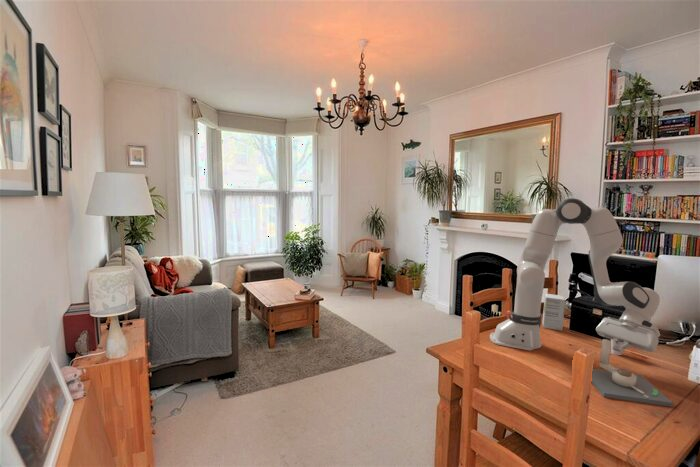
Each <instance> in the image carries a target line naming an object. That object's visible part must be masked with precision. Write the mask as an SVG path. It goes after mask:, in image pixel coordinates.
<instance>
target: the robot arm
mask: <svg viewBox="0 0 700 467" xmlns="http://www.w3.org/2000/svg"><path fill="white" fill-rule="evenodd" d="M563 224H568V225H575V224H581V225H582V226H583V227H584V229H585V230H586V233H587V236H588V239H589V244H590V246H589V247H590V249H589V250H588V262H589V266H590V271H591V276H592V281H593V295H594V298H595V300H596V301H597V302H598V303H599V305H601V306H603V307H615V306H618V307H619V306H620V307H621V306H622V307H624V308H625V310H624V311H623V312H622V314H621V316H620V317H619V318H616V317H611V316H606V317H603V318H602V320H601V322H599V324H598V325H597V326H596V328H595V332H596V333H597V335H599V336H600V337H603V338H605V339H608V340H611V339H612V340H613V342H614V345H613V347H612V349H613V350H615V351H618V352H621V353H622V354H623V352H624V351H625V350H627V349H628V348H630V346H631V347H634V348H638V349H640V350H643V351H646V352H650V353H652V352H655V351H656V349H657V347H658V344H659V341H660V340H659V338H660V337H661V333H660V331H659V329H658V327H657V326H656V324H654V323H653V322H650V321H651V319H652V317H654V315H655V314H656V312H657V310H658V309H659V306H660V302H661V297H660V294H659V293H657V291H655V290H653V289H652V288H649V287H642V286H640V284H638V283H637V282H634V281H619V282H618V281H616V282H611V281H610V277H609V273H608V272H609V271H608V268H607V261H608V259H609V257H611V256H612V255H613V254H615V253H617V252H618V251H619V250H620V249H621V247H622V245H623V241H624V240H623V235H622V232H621V230H620V228H619V225H618V223H617V220H616V219H615V217H614V216H613V214H612V213H611V210H609V209H608V208H606V207H604V206H603V207H602V206H600V207H599V206H598V207H592V208H591V207H589V206H588V205H587V204H586V203H584V202H583V201H582V200H581V199H578V198H566V199H564V200H562V201H561V202H560V203H559V204H558V206H557V207H556V208H555V209H550V208H543V209H540V210H539V211H538V212H536V215H535V216H534V219H533V220H532V223H531V225H530V227H529V230H528V235H527V238H526V241H525V244H524V246H523V249H522V252H521V256H520V258H519V262H518V264H517V268H516V274H517V275H516V276H517V277H516V286H515V287H516V288H515V296H514V305H513V306H514V308H513V309H514V310H513V311H511V310H507V311H506V314H507V315H508V319H506V320H503V321H502V322H500V323H498V324H497V325H496V328H495V330H494V332H490V334H489V340H490V341H491V343H493V344H495V345H498V346H504V347H508V348H513V349H514V348H515V349H520V350H523V351H524V350H526V351H533V350H535V349H537V350H538V349H540V348H541V347H542V340H541V333H540V328H541V323H542V315H541V310H542V309H541V308H542V299H543V293H544V287H545V279H546V273H545V271H544V269H545V268H546V267H545V266H547V265H546V264H547V262H548V260H549V257H550V255H551V254H552V250H553V247H554V244H555V241H556V238H557V236H558V235H557V234H558V232H559V229H560V227H561V225H563ZM619 342H621V343H624V344H623V345H622V346H618V345H617V343H618V344H619ZM622 351H623V352H622Z"/></svg>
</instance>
